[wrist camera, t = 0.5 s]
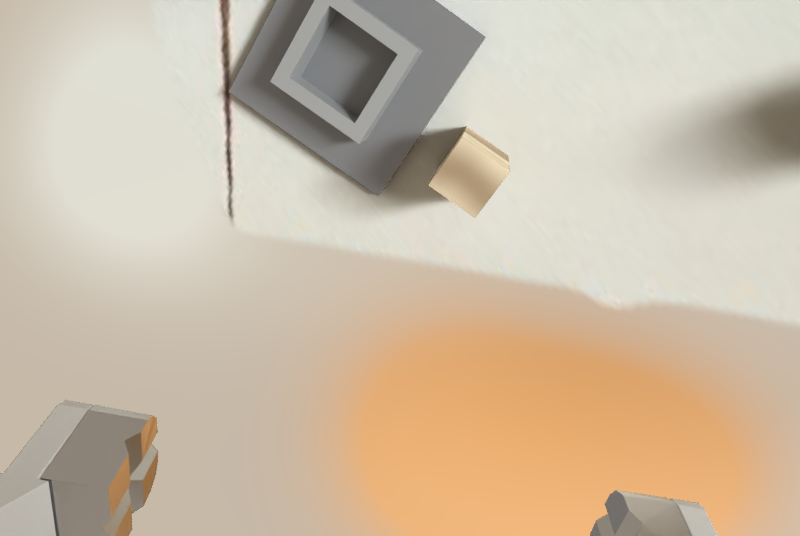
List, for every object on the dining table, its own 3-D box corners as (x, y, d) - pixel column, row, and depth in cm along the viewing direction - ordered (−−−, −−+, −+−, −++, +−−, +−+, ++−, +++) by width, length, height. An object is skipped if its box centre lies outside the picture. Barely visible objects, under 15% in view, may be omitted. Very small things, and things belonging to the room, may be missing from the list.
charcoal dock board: (323, -80, 48) (308, -93, 44) (485, 37, 49) (484, 35, 45) (234, 91, 54) (213, 93, 50) (380, 193, 55) (371, 203, 51)
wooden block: (466, 126, 52) (461, 137, 44) (508, 155, 52) (510, 171, 45) (437, 167, 53) (428, 185, 46) (478, 196, 54) (474, 218, 46)
